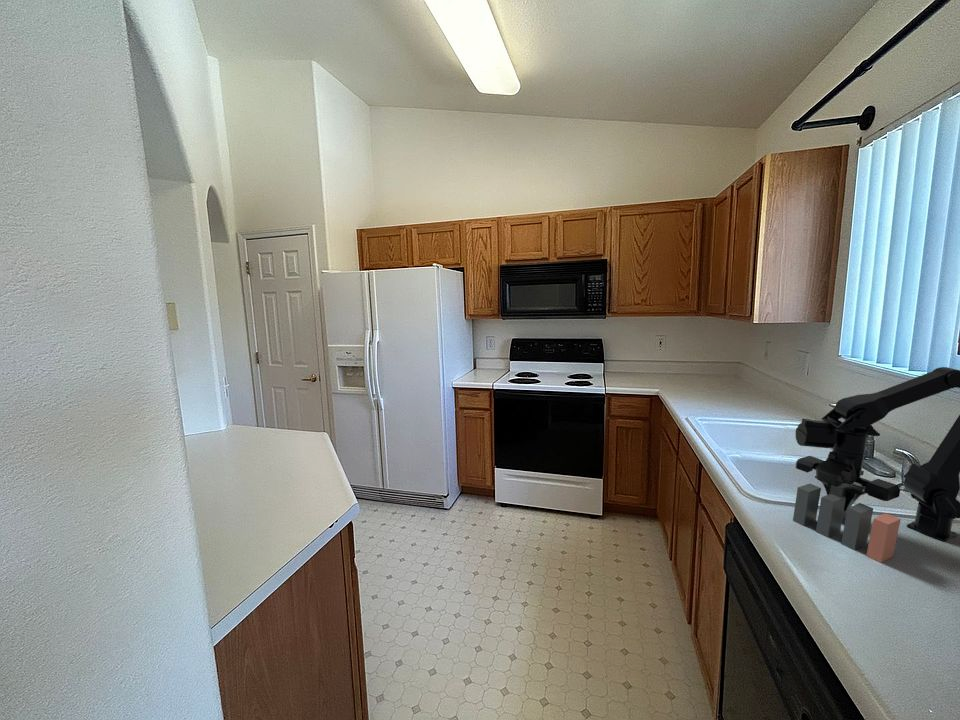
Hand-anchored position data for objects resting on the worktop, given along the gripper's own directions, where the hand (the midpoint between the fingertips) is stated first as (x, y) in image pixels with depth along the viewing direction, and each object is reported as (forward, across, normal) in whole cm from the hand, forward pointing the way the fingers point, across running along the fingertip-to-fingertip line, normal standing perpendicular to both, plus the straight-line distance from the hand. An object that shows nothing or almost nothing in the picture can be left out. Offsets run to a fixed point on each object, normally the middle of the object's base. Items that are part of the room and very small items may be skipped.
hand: (838, 507), depth 100 cm
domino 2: (+3, 0, 0) cm, 3 cm away
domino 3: (+3, +2, -9) cm, 10 cm away
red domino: (+3, +12, -9) cm, 15 cm away
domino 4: (+3, +8, -9) cm, 12 cm away
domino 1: (+3, -2, -9) cm, 10 cm away
